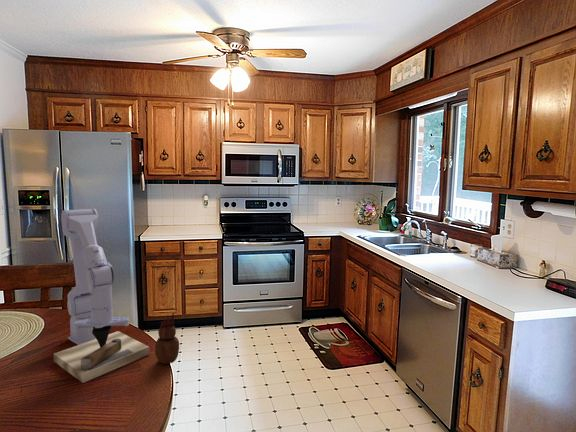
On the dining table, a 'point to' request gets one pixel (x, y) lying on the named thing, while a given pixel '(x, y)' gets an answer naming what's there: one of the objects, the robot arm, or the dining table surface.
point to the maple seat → (125, 355)
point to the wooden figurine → (167, 342)
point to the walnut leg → (100, 354)
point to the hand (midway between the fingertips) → (103, 349)
